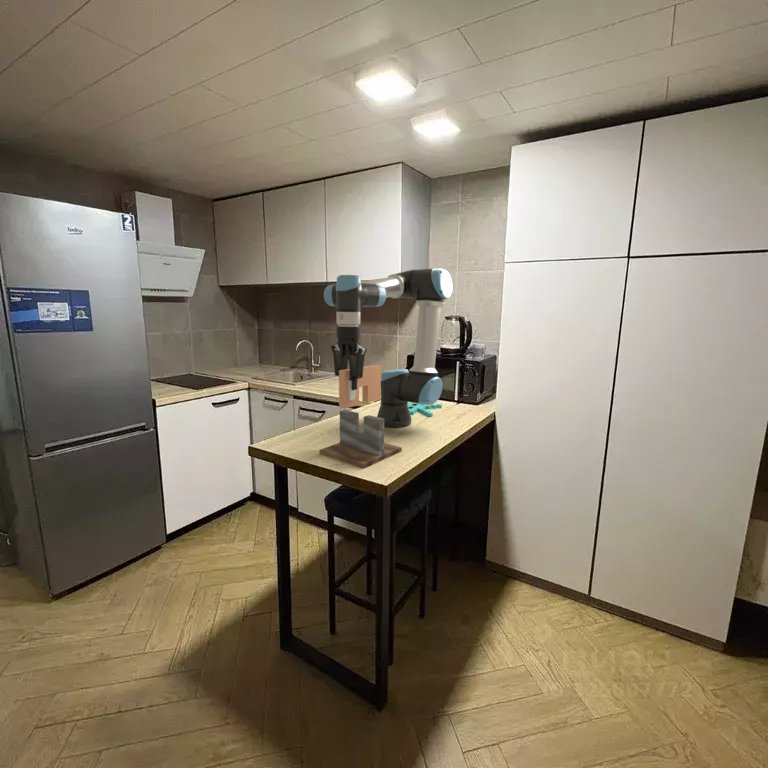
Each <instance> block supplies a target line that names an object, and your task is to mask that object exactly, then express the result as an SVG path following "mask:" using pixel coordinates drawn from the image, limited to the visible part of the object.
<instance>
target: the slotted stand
mask: <svg viewBox="0 0 768 768" xmlns="http://www.w3.org/2000/svg"><path fill="white" fill-rule="evenodd" d="M401 452H403V447H402V446H399V445H395V444H392V443H391V444H390V443H387V442H385V426H384V418H379V417H377V416H374V415H370V414H368V415H364V416H363V430H362V429H360V414H359V412H357V411H352V410H347V409H342V410H339V442H338V443H335V444H332V445H329V446H327V447H323V448H320V449H319V454H320V455H321V456H324V457H328V458H331V459H334V460H338V461H341V462H343V463H346V464H349V465H352V466H355V467H359V468H362V469H365V468H368V467H371V466H373V465H375V464H378V463H379V462H381V461H383V460H386V459H388V458H391V457H393V456H395V455H397V454H399V453H401Z"/></svg>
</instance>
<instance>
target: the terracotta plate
mask: <svg viewBox="0 0 768 768" xmlns="http://www.w3.org/2000/svg"><path fill="white" fill-rule="evenodd" d="M338 372H339V377H338V408H341V409H349V408H353V407H357V406H360V388H361V389H362V395H361V396H362V397H361V400H362V401H361V402H362V403H368V404H369V403H371V402H372V403H373V402H376V401H381V374H382V365H379V364H378V365H377V364H372V365H367V366H363V377H362V378H359V379H358V380H357V390H356V399H354V400H348V380H349V379H350V369H349V368H347V369H345V370H339V371H338Z"/></svg>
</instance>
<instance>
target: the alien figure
mask: <svg viewBox="0 0 768 768" xmlns="http://www.w3.org/2000/svg"><path fill="white" fill-rule="evenodd" d="M408 408H409V412H410V416H414V415H415V414H416V413H421V414H423V416H426V417H427V418H433V416H434V412H431V411H430V410H431V409H432V410H436V409H440V410H441V409H442V408H443V403H437V404H435V403H434V404H432V405H421V404H418V403H412V402H408ZM428 409H430V410H428ZM421 414H420V415H421Z"/></svg>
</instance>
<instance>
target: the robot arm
mask: <svg viewBox="0 0 768 768" xmlns="http://www.w3.org/2000/svg"><path fill="white" fill-rule="evenodd" d="M453 289H454V288H453V280H452V277H451V275H450V272H449V271H447V270H446V269H444V268H436V267H433V268H421V269H410V270H406V271H401V272H398V273H391V274H390V275H388V276H387V277H383V278H382V277H381V278H375V279H368V280H361V276H360V275H357V274H340V275H338V276H337V277H336V283H333V284H328V285H327V286H326V287H325V288H324V292H323V299H324V302H325V303H326V304H327V306H330V307H335V308H336V325H338V326H336V338H337V339H338V340H337V343H336V344H335V345H331V352H332V355H333V356H332V357H333V366H334V375H335V376H336V377H338V378H339V370H345V369H350V379H349V380H348V400H354V399H356V390H357V380H358V379H359V378H362V377H363V367H365V366H364V364H365V355H366V352H367V348H366V347H362V346H361V342H360V338H361V327H360V325H361V322H362V321H361V308H377V307H382V306H383V305H384V304H385V302H386V299H387V298H391V299H400V298H401V299H413V300H414V299H416V300H415V303H416V304H417V305H418V315H417V325H416V326H417V327H416V328H417V329H416V334H415V335H416V338H415V349H414V357H413V358H414V359H413V366H412V367H411V368H409V370H408V369H407V368H400V369H399V368H398V369H389V370H385V371H382V372H381V397H380V406H379V409H378V413H377V415H376V417H379V418H384V428H385V427H386V428H403V427H404V428H405V427H407V426H410V425H411V424H412V415H410V412H409V408H408V403H411V402H412V403H418V404H421V405H425V406H426V405H432V404H435V403H436V402H437V401H438V400H439V399H440V397H441V394H442V392H443V381H442V379H441V377H439V376H438V375H439V372H438V370H437V369H436V359H437V358H436V357H437V350H438V349H437V348H438V341H439V339H438V338H439V328H440V318H441V309H442V308H443V307H444V306H445V305H446V300H447V299H450V297H451V296H452V294H453ZM348 367H349V368H348Z"/></svg>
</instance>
